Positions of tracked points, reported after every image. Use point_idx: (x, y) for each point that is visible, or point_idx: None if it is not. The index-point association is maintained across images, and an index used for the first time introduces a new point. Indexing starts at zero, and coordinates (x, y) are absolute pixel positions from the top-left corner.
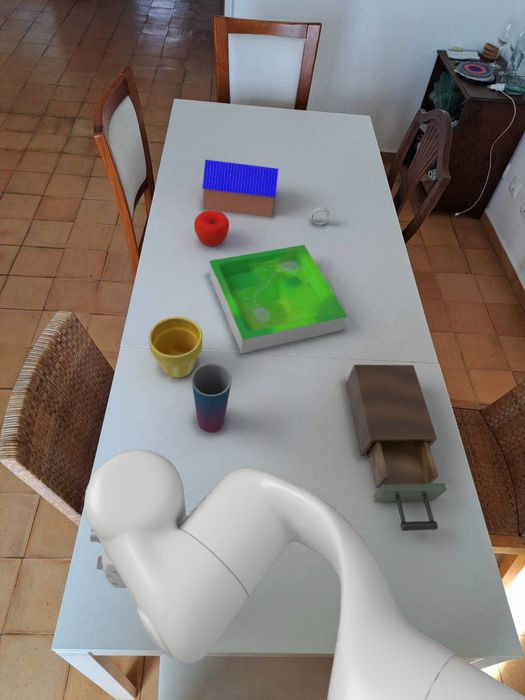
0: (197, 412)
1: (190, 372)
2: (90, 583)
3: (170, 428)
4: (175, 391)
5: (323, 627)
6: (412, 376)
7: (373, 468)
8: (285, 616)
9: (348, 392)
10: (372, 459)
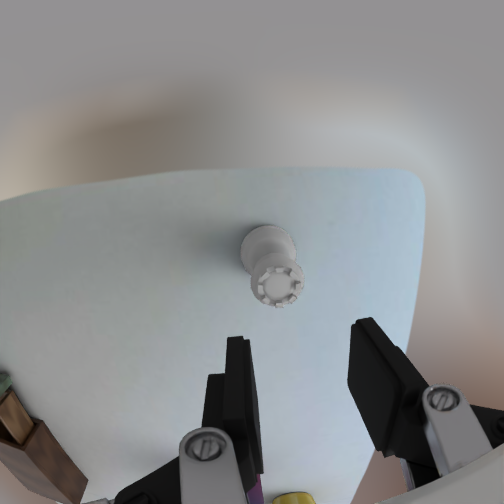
0: (259, 496)
1: (276, 498)
2: (399, 256)
3: (296, 456)
4: (293, 483)
5: (22, 222)
6: (23, 483)
7: (21, 410)
8: (67, 231)
9: (81, 475)
10: (25, 420)
